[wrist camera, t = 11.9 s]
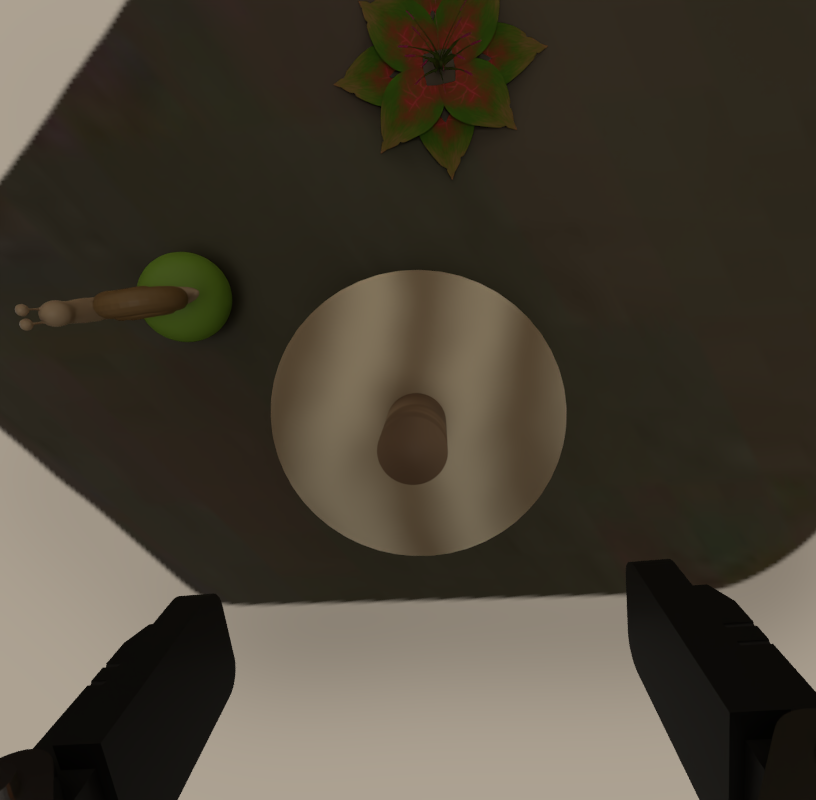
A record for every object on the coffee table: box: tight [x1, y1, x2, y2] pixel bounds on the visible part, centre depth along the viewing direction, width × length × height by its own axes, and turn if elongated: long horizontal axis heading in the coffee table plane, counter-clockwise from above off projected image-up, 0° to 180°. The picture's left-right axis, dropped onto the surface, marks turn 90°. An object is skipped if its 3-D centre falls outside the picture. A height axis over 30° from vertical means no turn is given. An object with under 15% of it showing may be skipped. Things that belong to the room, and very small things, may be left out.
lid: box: [271, 270, 566, 556], centre depth 27 cm, size 16×16×6 cm
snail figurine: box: [15, 252, 232, 342], centre depth 30 cm, size 5×6×12 cm
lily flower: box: [334, 0, 548, 180], centre depth 30 cm, size 12×12×5 cm
